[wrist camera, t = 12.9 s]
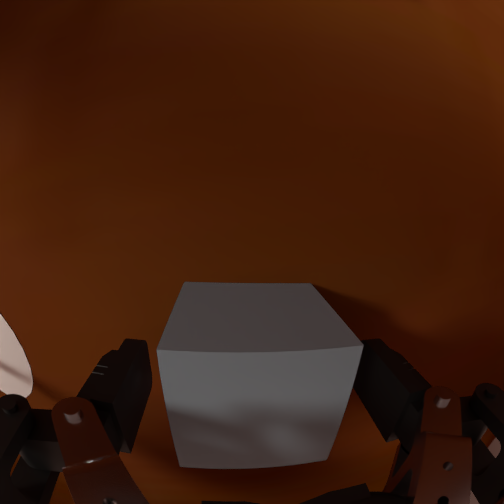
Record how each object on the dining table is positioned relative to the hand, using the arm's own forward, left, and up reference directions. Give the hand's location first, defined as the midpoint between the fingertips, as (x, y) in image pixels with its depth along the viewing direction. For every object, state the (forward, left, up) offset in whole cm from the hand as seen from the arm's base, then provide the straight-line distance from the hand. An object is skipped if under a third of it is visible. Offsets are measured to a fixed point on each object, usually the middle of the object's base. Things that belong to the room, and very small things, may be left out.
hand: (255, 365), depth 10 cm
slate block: (0, 0, -2) cm, 2 cm away
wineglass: (-16, -3, -2) cm, 17 cm away
